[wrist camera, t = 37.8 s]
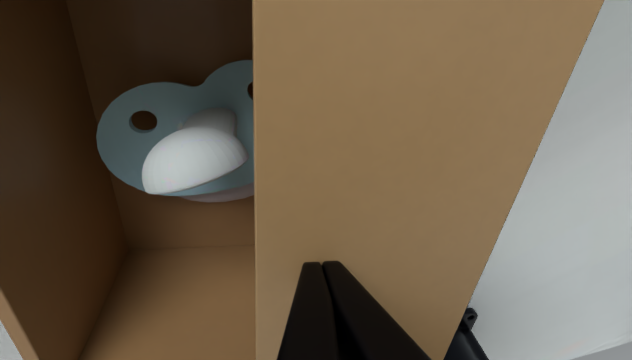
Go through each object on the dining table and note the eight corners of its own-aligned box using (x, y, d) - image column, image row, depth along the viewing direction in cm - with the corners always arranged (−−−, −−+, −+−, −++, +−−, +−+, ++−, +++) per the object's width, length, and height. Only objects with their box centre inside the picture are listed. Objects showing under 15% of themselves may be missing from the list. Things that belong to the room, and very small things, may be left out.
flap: (591, -12, 6) (609, -10, 6) (426, 377, 13) (431, 388, 12) (251, -47, 5) (252, -48, 5) (256, 404, 12) (256, 417, 11)
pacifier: (319, 169, 16) (287, 38, 13) (351, 268, 11) (312, 92, 8) (168, 209, 16) (97, 87, 13) (130, 329, 11) (-8, 176, 8)
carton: (422, -21, 13) (578, -15, 7) (368, 240, 19) (423, 367, 13) (43, -58, 11) (-247, -101, 5) (124, 250, 17) (50, 408, 11)
